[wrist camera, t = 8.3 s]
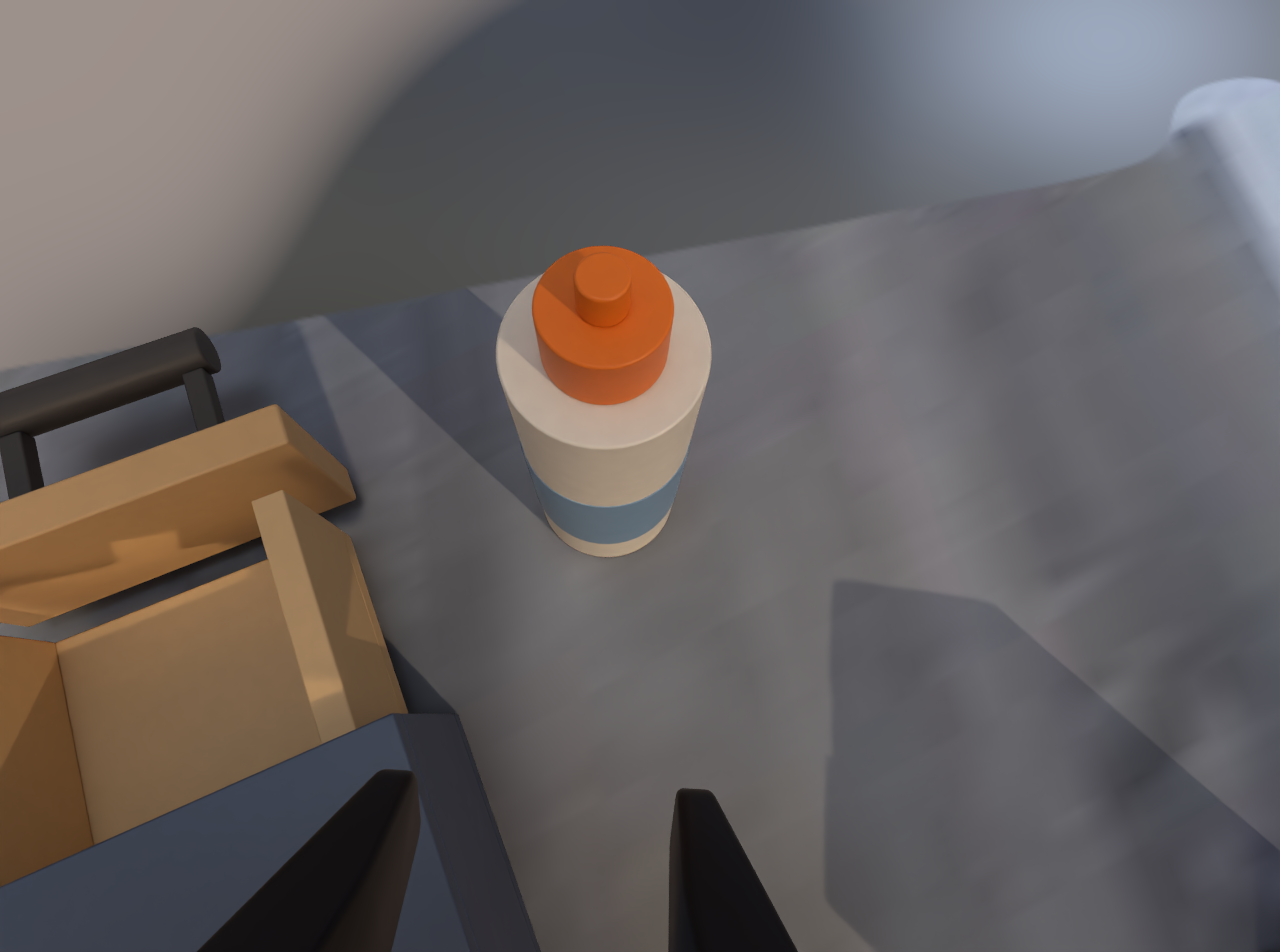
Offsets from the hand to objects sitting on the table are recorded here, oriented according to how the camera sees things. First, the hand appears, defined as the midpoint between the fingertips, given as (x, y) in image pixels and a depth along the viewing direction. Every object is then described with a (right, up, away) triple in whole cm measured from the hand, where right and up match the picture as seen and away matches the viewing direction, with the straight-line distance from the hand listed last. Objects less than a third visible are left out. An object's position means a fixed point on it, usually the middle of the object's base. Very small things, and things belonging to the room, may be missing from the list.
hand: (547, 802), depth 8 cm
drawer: (-11, -2, +13) cm, 17 cm away
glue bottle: (0, +3, +15) cm, 16 cm away
